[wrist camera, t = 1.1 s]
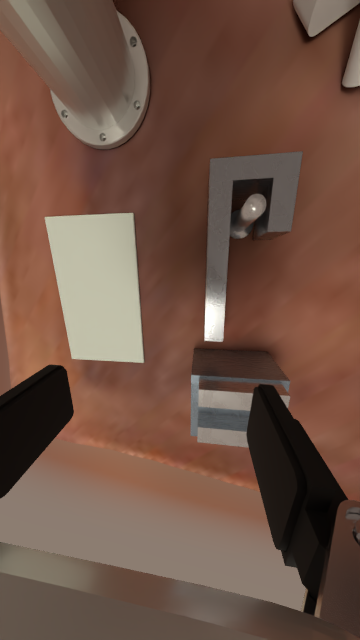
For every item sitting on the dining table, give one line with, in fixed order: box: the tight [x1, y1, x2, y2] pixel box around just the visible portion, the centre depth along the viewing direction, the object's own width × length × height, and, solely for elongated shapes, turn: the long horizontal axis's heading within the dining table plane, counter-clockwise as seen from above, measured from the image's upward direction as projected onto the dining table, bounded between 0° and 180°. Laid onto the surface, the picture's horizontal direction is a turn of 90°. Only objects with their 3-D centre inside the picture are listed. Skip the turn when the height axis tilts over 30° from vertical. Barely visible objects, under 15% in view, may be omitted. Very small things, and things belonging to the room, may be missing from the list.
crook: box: [204, 151, 303, 342], centre depth 23 cm, size 20×9×6 cm, turn 0°
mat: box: [45, 213, 144, 363], centre depth 30 cm, size 24×14×1 cm, turn 0°
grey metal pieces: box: [191, 194, 290, 447], centre depth 24 cm, size 32×12×10 cm, turn 0°
